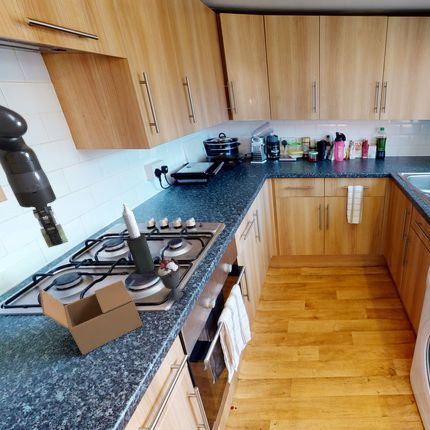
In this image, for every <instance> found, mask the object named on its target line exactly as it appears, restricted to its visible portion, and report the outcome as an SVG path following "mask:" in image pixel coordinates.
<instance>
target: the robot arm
mask: <svg viewBox="0 0 430 430" xmlns="http://www.w3.org/2000/svg"><path fill="white" fill-rule="evenodd" d="M28 129H29V126H28V122H27V120H26V119H25V118H24V117H23V116H22V115H21V114H19V113H18V112H16V111H15V110H13V109H10V108H8V107H6V106H4V105H1V104H0V166H1V168H2V170H3V172H4V174H5V176H6V180H7V183H8V184H9V188H10V189H11V191H12V193H13V195H14V197H15V199H16V201H17V203H18V205H19V206H20V207H22V208H26V209H27V208H34V209H32V214H33V215H34V218H35V219H37V221H38V224H39V225H40V228H44V230H45V232H46V234H47V235H48V236H49V238H50V240H51V242H52V244H53V247H57V246H60V245H63V244H64V243H63V241H62V239H61V237H60V235H59V233H58V231H59V230H58V229H57V227H56V225H58V224H57V223H58V222H57V220H56V217H55V212H54V209H53V208H52V205H48V204H51V203H54V202H55V201H56V200H57V196H56V195H55V192H54V189H53V187H52V185H51V183H50V180H49V178H48V176H47V174H46V172H45V170H44V169H43V167H42V165H41V163H40V160H39V158H38V155H37V154H36V152H35V151H34V149H33V148H31V147H30V146H29V145H28V144H27V143H26V141H25V139H24V138H23V136H24V135H25V134H27V132H28ZM51 227H54V228H55V229H52V230H47V229H48V228H51ZM62 243H63V244H62Z"/></svg>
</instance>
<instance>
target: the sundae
mask: <svg viewBox="0 0 430 430" xmlns="http://www.w3.org/2000/svg"><path fill="white" fill-rule="evenodd" d="M158 261H160V265H159V267H158V268H157V269H156V270H155V271H154V274H155V276H156V277H157V278H159V279H160V281H161V283H162V285H163V286H164V288H165V289H168V290H171V293H170V294H169V295H168V296H167V299H168V301H171V302H173V301H177V300H180V299H182V297H183V296H184V293H183V291H181V290H177V287H178V285H180V270H181V265H180V263H178V260H177V259H175V258H174V257H171V258H170V259H166V260H164V259H162V258H160V259H159V260H158Z"/></svg>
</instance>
